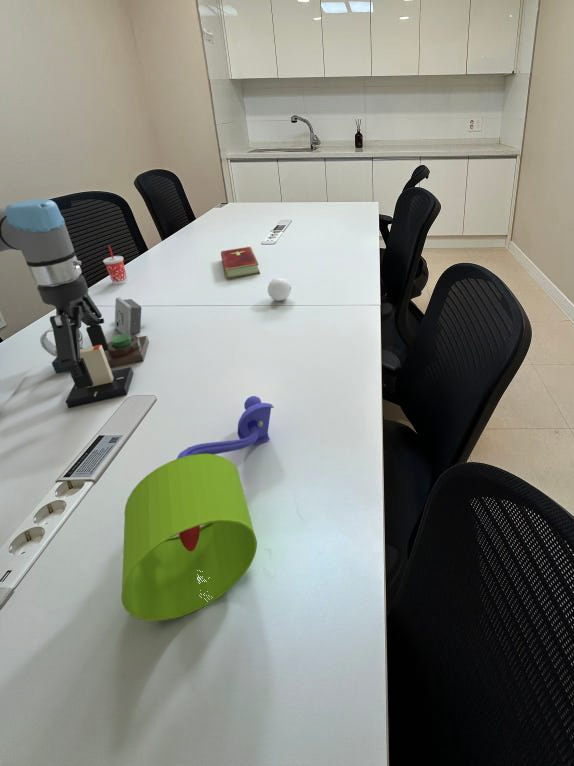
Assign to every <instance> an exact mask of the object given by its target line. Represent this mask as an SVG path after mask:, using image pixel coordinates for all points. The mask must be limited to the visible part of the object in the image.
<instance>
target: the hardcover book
mask: <svg viewBox="0 0 574 766" xmlns="http://www.w3.org/2000/svg"><path fill="white" fill-rule="evenodd" d="M220 257H221V261H222V266H223V270H224V274H225V277H226V278H225V279H227V280H232V279H233V280H234V279H237V278H243V277H250V276H253V275H259V274H261V272H260V269H259V262H258V259H257V257H256V255H255V252H254V251H253V248H252V246H245V247H239V248H233V249H227V250H221V251H220Z"/></svg>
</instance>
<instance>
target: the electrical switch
mask: <svg viewBox="0 0 574 766" xmlns="http://www.w3.org/2000/svg"><path fill="white" fill-rule="evenodd" d="M114 305H115V306H114V328H115V329H116V330H117V331H118V332H119V333H120V334H130V335H136V334H139V333H141V325H142V306H141V305H140V304H139V303H137V302H136V301H134V300H133V299H132V298H129V299H123V298H122V297H120V296H119V297H115V304H114Z"/></svg>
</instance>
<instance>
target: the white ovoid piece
mask: <svg viewBox="0 0 574 766" xmlns="http://www.w3.org/2000/svg"><path fill="white" fill-rule="evenodd" d="M291 290H292V287H291V284H290V282H289V281H288V280H287V279H285V278H282V277H276V278H273V279H272V280H271V281H270V282H269V283H268V286H267V294H268V296H269V297H270V298H271V299H272V300H274V301H277V302H280V301H281V302H282V301H284V300H286V299H287V298H288V297H289V296H290V295H291V292H292V291H291Z"/></svg>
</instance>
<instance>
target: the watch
mask: <svg viewBox="0 0 574 766" xmlns="http://www.w3.org/2000/svg"><path fill="white" fill-rule="evenodd" d="M51 332H53V328H52V326H50V327H48V328H47V329H46V330H45V331H44V332H43V333H42V334H41V336H40V337H39V341H40V345H41V347H42V348H43V350H44V351H46V352H47V353H48V354H50V355H51V356H53V357H55V358H54V359H53V361H52V362H51V366H52V367H53V369H54V372H55V374H62V373H70V371H69V369H68V367H67V366H66V367H59V362H58V356H57V350H56V344H54V343H53V342H52V341H51V340H49V339H48V337H47V335H48V333H51ZM83 338H84V337H83V332H82V331H81V330H80V329H79V342H80V349H84V347H83V344H84V339H83Z"/></svg>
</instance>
